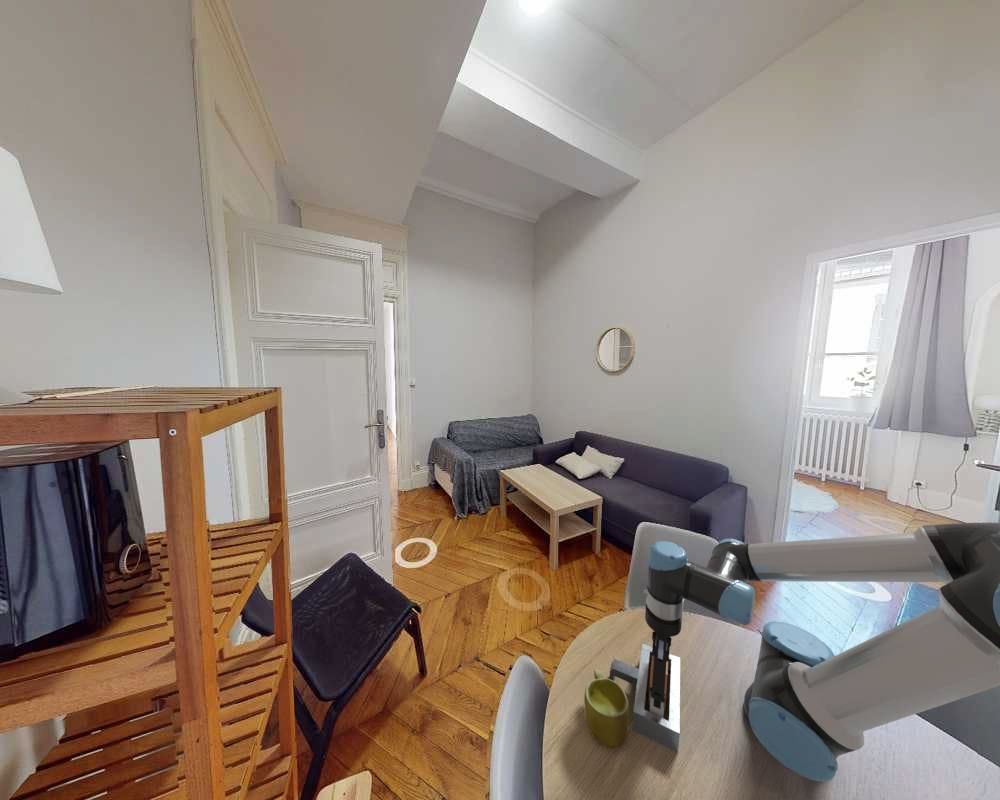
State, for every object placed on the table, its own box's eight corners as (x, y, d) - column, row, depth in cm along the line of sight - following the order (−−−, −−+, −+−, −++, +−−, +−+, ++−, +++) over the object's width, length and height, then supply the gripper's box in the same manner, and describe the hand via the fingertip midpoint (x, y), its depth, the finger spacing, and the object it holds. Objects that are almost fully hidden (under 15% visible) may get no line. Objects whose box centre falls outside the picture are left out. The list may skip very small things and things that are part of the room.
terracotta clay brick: (649, 690, 82) (652, 655, 81) (665, 696, 81) (668, 661, 79) (648, 703, 79) (650, 667, 78) (664, 710, 78) (667, 674, 76)
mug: (641, 757, 67) (626, 705, 68) (591, 758, 70) (577, 709, 71) (633, 705, 79) (620, 662, 80) (591, 708, 82) (579, 666, 83)
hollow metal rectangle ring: (678, 674, 86) (680, 657, 85) (678, 752, 70) (679, 733, 69) (616, 649, 93) (617, 633, 92) (602, 715, 77) (603, 697, 76)
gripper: (650, 571, 88) (646, 640, 92) (639, 645, 67) (635, 731, 70) (682, 580, 85) (676, 651, 88) (682, 661, 63) (674, 751, 67)
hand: (658, 687), depth 79 cm, fingers open, 13 cm apart
